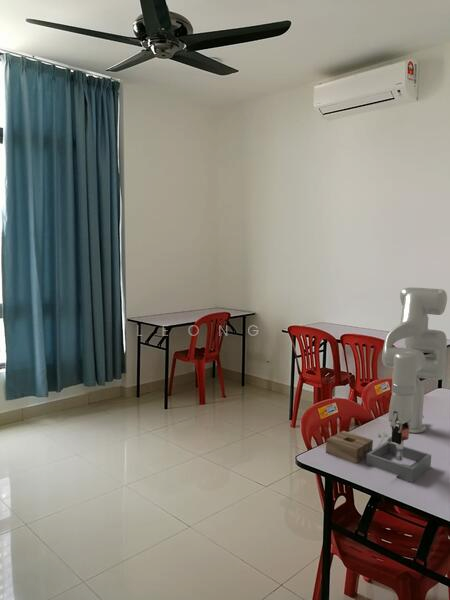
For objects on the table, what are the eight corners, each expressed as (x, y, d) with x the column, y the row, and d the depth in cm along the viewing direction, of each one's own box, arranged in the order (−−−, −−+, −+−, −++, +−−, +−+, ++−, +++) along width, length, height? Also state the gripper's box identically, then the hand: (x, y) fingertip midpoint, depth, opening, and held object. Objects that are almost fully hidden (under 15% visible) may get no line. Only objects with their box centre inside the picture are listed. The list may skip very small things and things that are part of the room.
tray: (386, 452, 178) (387, 441, 177) (430, 467, 167) (431, 454, 166) (365, 466, 166) (366, 453, 166) (411, 482, 155) (412, 469, 155)
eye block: (342, 445, 183) (343, 430, 182) (371, 455, 175) (372, 440, 174) (325, 455, 174) (326, 439, 174) (355, 466, 166) (356, 449, 165)
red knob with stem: (394, 454, 170) (396, 424, 169) (409, 459, 166) (411, 428, 165) (388, 459, 166) (390, 428, 165) (402, 464, 163) (405, 432, 161)
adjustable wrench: (380, 458, 174) (381, 454, 174) (363, 454, 177) (363, 449, 177) (397, 436, 195) (397, 432, 194) (381, 432, 198) (381, 428, 198)
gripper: (403, 382, 172) (399, 430, 174) (381, 391, 160) (378, 444, 162) (424, 386, 167) (420, 436, 169) (403, 397, 155) (400, 451, 157)
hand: (400, 439), depth 165 cm, fingers closed on red knob with stem, 5 cm apart
